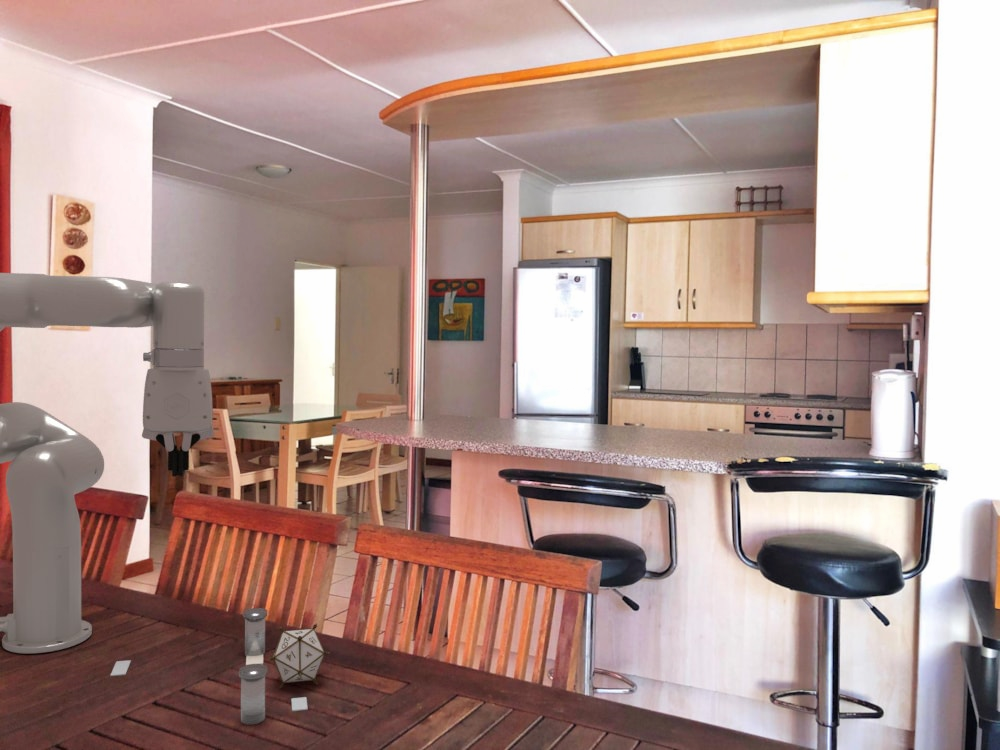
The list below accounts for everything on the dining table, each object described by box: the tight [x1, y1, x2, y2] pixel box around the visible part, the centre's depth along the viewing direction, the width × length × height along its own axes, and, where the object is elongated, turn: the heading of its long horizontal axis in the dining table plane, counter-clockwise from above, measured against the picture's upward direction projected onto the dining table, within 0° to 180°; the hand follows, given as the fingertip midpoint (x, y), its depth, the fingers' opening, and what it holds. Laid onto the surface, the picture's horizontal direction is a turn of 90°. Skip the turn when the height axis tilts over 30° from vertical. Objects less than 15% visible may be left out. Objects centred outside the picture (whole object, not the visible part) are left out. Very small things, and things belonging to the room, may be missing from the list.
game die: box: [267, 623, 331, 689], centre depth 116 cm, size 9×8×10 cm
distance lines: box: [110, 654, 309, 712], centre depth 115 cm, size 27×22×1 cm
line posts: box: [238, 607, 269, 726], centre depth 116 cm, size 4×26×7 cm, turn 16°
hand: (178, 474), depth 129 cm, fingers closed
